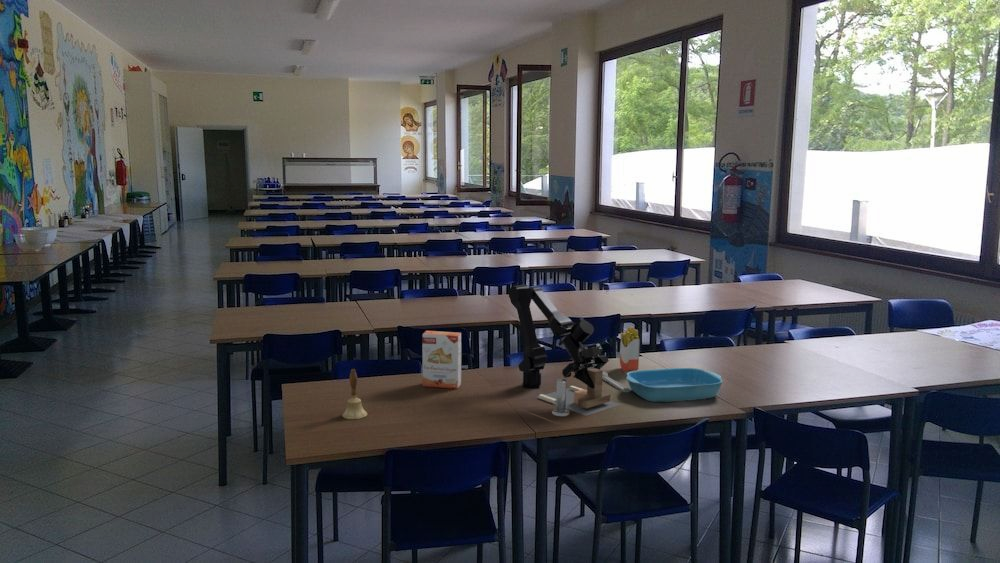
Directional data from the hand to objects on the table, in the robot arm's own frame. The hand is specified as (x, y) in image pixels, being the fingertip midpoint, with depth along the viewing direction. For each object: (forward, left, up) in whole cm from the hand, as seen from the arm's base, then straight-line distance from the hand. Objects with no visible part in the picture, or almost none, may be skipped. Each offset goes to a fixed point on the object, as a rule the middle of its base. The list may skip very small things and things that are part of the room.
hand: (597, 386), depth 252 cm
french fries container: (+15, +48, -8) cm, 51 cm away
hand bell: (-82, -15, -8) cm, 84 cm away
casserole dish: (+29, +20, -8) cm, 36 cm away
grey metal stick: (-13, -7, -8) cm, 16 cm away
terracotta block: (-4, +4, -7) cm, 10 cm away
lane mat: (-7, +7, -8) cm, 12 cm away
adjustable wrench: (+6, +30, -9) cm, 32 cm away
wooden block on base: (-1, +1, -6) cm, 7 cm away
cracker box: (-58, +20, -8) cm, 62 cm away
